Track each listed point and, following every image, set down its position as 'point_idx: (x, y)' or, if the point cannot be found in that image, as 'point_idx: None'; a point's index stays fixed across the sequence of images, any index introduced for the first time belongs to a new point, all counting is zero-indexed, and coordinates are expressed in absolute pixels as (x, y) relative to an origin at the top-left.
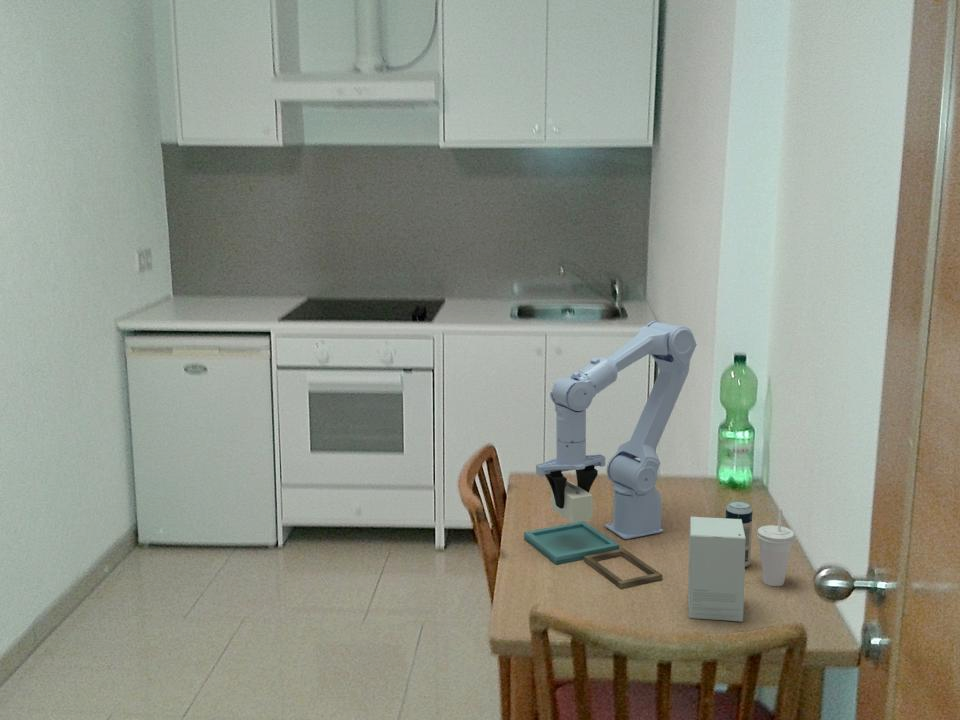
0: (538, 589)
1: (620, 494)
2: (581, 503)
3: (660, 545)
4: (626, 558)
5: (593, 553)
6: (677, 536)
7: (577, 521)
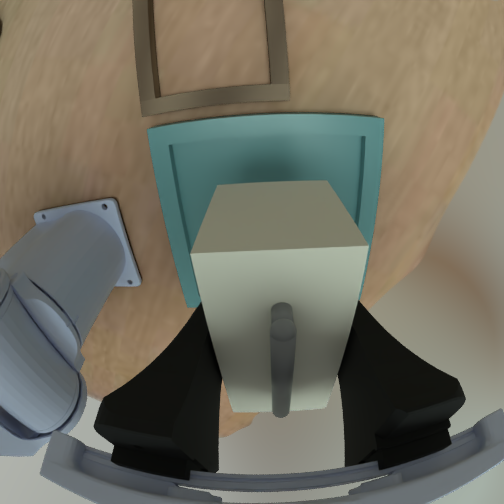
0: (460, 33)
1: (62, 307)
2: (288, 224)
3: (52, 144)
4: (156, 72)
5: (245, 115)
6: (19, 185)
7: (301, 182)
